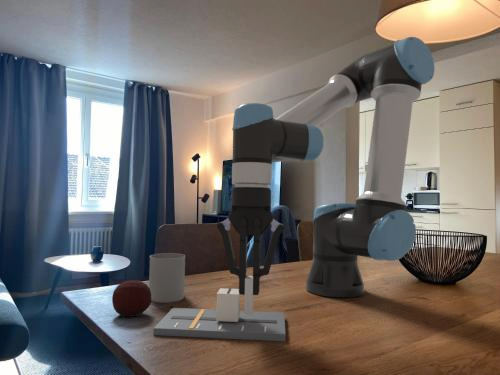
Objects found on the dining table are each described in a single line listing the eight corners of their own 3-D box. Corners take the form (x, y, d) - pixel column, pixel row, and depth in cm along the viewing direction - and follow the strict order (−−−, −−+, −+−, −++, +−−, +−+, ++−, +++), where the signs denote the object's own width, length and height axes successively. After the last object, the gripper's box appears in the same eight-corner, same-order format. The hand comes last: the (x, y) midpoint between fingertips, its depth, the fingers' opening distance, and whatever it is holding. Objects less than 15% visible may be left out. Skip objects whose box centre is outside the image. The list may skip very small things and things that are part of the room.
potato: (117, 309, 78) (118, 276, 78) (154, 309, 79) (155, 276, 79) (106, 321, 71) (107, 284, 71) (147, 321, 71) (148, 284, 72)
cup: (175, 303, 84) (176, 259, 84) (142, 300, 85) (143, 257, 86) (189, 294, 92) (189, 254, 92) (158, 292, 93) (159, 252, 94)
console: (284, 318, 75) (284, 312, 75) (285, 341, 63) (285, 333, 63) (172, 313, 76) (173, 307, 76) (153, 335, 64) (153, 327, 64)
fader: (240, 315, 71) (240, 288, 71) (237, 321, 67) (238, 293, 67) (219, 314, 71) (220, 287, 72) (216, 320, 68) (216, 292, 68)
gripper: (285, 188, 73) (282, 307, 72) (220, 186, 74) (217, 304, 73) (286, 186, 66) (284, 320, 65) (214, 185, 66) (211, 316, 66)
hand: (248, 311), depth 69 cm, fingers closed
